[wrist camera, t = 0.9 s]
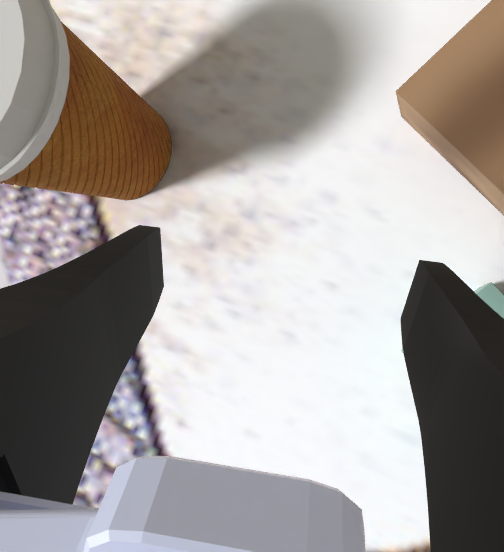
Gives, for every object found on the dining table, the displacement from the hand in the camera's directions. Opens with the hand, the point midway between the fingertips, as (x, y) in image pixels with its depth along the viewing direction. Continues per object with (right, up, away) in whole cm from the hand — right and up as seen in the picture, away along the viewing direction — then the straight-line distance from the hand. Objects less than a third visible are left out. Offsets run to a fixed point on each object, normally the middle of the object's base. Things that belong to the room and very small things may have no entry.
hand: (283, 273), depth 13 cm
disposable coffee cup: (-9, +8, +17) cm, 21 cm away
